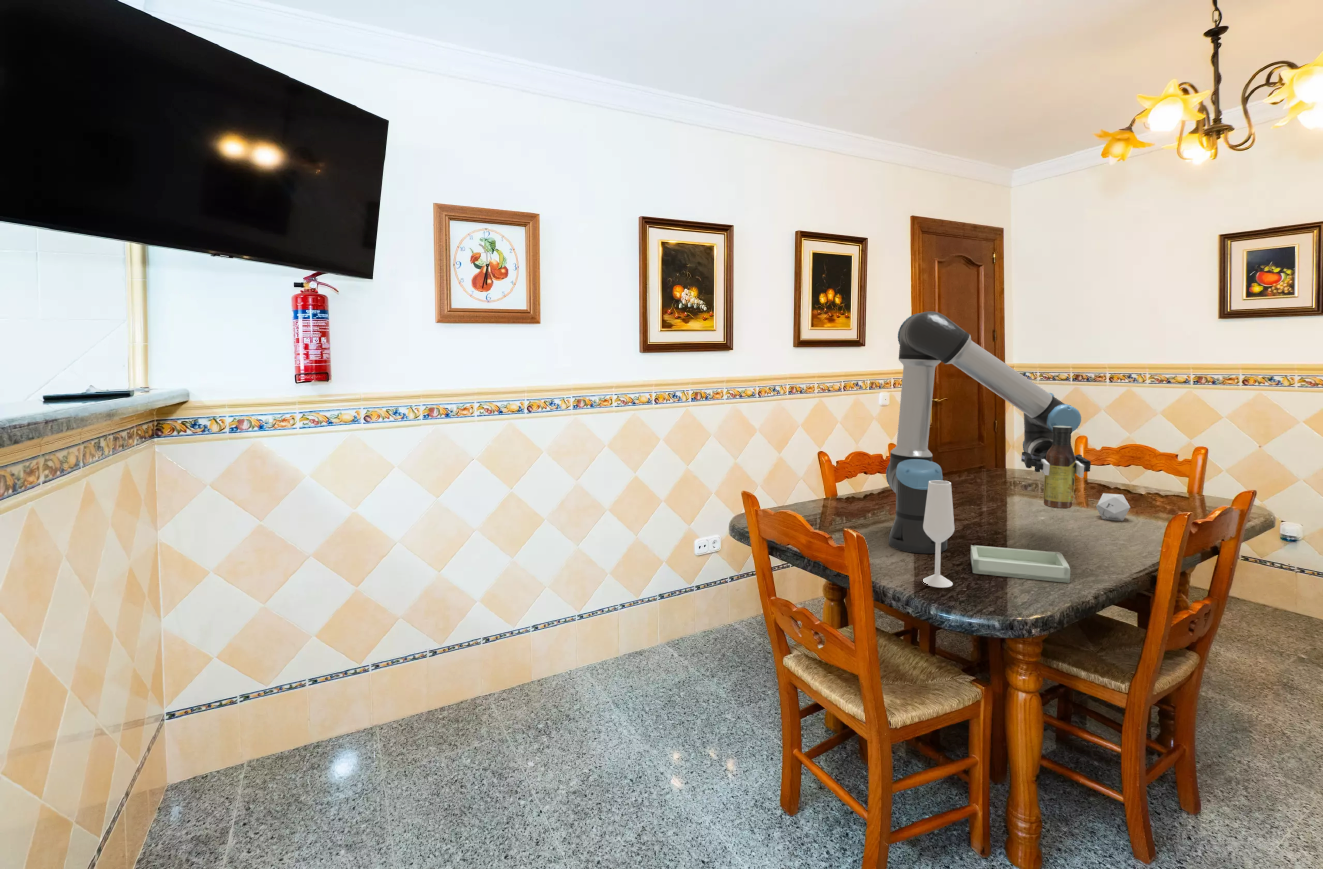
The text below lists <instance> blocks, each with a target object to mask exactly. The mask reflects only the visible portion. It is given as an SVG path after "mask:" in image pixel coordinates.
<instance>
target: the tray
mask: <svg viewBox="0 0 1323 869" xmlns="http://www.w3.org/2000/svg"><path fill="white" fill-rule="evenodd" d="M970 564H971V569H972V574H977V575H984V576H985V575H988V576H998V577H1005V578H1016V579H1017V578H1018V579H1025V580H1026V579H1027V580H1036V581H1045V582H1046V581H1048V582H1056V583H1065V584H1066V583H1067V584H1070V583H1071V582H1070V581H1071V567H1070V565H1069V563H1068V561H1067V560H1066V558H1065V557H1064V556H1063V554H1062V552H1058V551H1047V550H1046V551H1044V550H1033V549H1032V550H1031V549H1022V548H1013V547H1012V548H1011V547H1010V548H1009V547H999V546H998V547H996V546H986V545H976V544H974V545H972V544H970Z"/></svg>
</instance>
